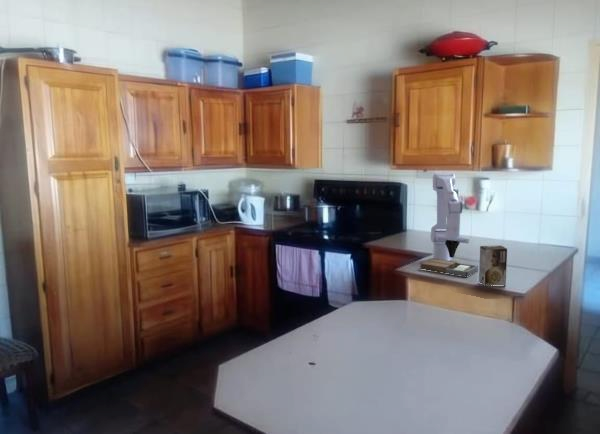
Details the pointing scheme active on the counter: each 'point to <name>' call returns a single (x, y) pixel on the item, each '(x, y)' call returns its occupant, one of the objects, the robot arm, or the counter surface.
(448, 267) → the flat brown block
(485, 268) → the coffee box
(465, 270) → the sage tile
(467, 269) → the cream tile
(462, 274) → the box
